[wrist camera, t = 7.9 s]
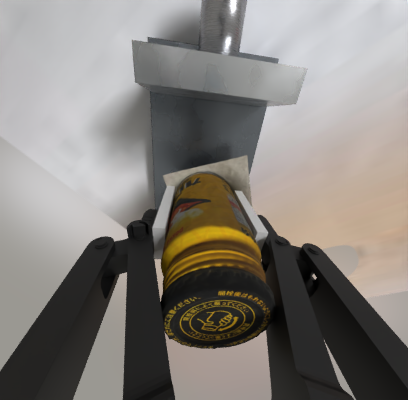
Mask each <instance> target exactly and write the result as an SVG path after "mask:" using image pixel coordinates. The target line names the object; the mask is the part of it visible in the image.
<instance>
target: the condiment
mask: <svg viewBox="0 0 408 400" xmlns="http://www.w3.org/2000/svg"><path fill="white" fill-rule="evenodd" d="M163 178H164V181H165V183H166V186H175V198H174V203H173V207H172V212H171V217H170V222H169V227H168V231H167V236H166V240H165V243H164V248H163V254H162V259H161V269H162V273H163V276H164V280H163V295H162V298H161V302H160V304H161V311H162V318H163V325H164V331H165V333H166V334H167V335H168V337H169V339H173V340H175V341H177V342H178V343H180V344H182V345H186V346H190V347H197V348H213V349H215V348H222V347H231V346H236V345H239V344H242V343H245V342H247V341H249V340H251V339H253V338H255V337H257V336H258V335H259V334H260V333H262V332H263V331H265V330H266V329H267V328H268V326H269V325H270V324H271V322H272V321H273V319H274V315H275V306H276V305H275V300H274V295H273V292H272V291H271V289H270V287H269V286H268V284H266V277H265V273H264V270H263V268H262V266H261V252H260V249H259V246H258V244H257V242H256V240H255V237H254V236H253V233H252V231H251V229H250V227H249V225H248V223H247V222H246V220H245V217H244V216H243V214H242V211H241V210H240V207H239V205H238V203H237V201H236V199H235V197H234V191H242V192H243V194H244V195H245V197H246V199H247V200H248V202H249V203H250V205H251V206H252V202H251V192H250V184H249V171H248V158H247V155H246V156H242V157H238V158H233V159H230V160H226V161H221V162H217V163H212V164H208V165H203V166H199V167H195V168H191V169H187V170H182V171H178V172H174V173H170V174H166V175H163Z"/></svg>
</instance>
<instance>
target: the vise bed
mask: <svg viewBox="0 0 408 400" xmlns="http://www.w3.org/2000/svg"><path fill="white" fill-rule="evenodd" d="M148 43H154V44H160V45H167V46H173V47H179V48H185V49H191V50H197V51H198V49H199V45H193V44H187V43H181V42H175V41H169V40H163V39H157V38H151V37H148ZM238 57H240V58H246V59H252V60H258V61H264V62H271V63H277V64H278V60H279V59H276V58H270V57H264V56H258V55H252V54H246V53H240V52H239V55H238ZM150 100H151V122H152V144H153V166H154V189H155V210H159V207H160V205H161V202H162V199H163V196H164V193H165V190H166V188H167V186H166V183H165V181H164V178H163V175H166V174H170V173H174V172H178V171H182V170H187V169H191V168H195V167H199V166H203V165H208V164H212V163H217V162H221V161H226V160H230V159H233V158H238V157H242V156H246V155H247V158H248V171H249V174H250V171H251V167H252V163H253V159H254V155H255V151H256V147H257V143H258V139H259V135H260V131H261V127H262V123H263V119H264V115H265V111H266V107H259V106H252V105H244V104H236V103H229V102H221V101H214V100H206V99H198V98H191V97H183V96H176V95H168V94H160V93H154V92H152V91H151V90H150Z"/></svg>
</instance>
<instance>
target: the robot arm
mask: <svg viewBox="0 0 408 400" xmlns="http://www.w3.org/2000/svg"><path fill="white" fill-rule="evenodd" d="M234 197H235V199H236V201H237V203H238V205H239V207H240V210H241V211H242V214H243V216H244V217H245V220H246V222H247V223H248V225H249V227H250V229H251V231H252V233H253V236H254V237H255V240H256V242H257V244H258V246H259V249H260V252H261V259H262V261H261V266H262V268H263V270H264V273H265V277H266V284H268V286H269V287H270V289H271V291H272V292H273V295H274V300H275V305H276V306H275V315H274V319H273V321H272V322H271V324H270V325H269V326H268V328H267V329H266V334H267V345H268V355H269V367H270V378H271V389H272V399H271V400H354V399H353V398H352V396H351V395H349V394H348V393H347V392H345V391H344V390H343V389H342V387H341V386H340V384H339V382H338V380H337V377H336V374H335V371H334V368H333V365H332V362H331V359H330V356H329V354H328V351H327V348H326V345H325V342H326V344H327V346H328V348H329V349H330V352H331V353H332V355H333V357H334V359H335V361H336V363H337V365H338V366H339V368H340V370H341V372H342V374H343V376H344V378H345V379H346V382H347V383H348V385H349V387H350V389H351V391H352V393H353V395H354V397H355V398H356V400H408V348H407V346H406V345H405V344H404V343H403V342H402V341H401V340H400V339H399V337H398V336H397V335H396V334H395V333H394V332H393V330H392V329H391V328H390V327H389V326H388V325H387V324H386V322H385V321H384V320H383V319H382V318H381V317H380V316H379V315H378V314H377V312H376V311H375V310H374V309H373V308H372V306H371V305H370V304H369V303H368V302H367V301H366V300H365V298H364V297H363V296H362V295H361V294H360V293H359V292H358V290H357V289H356V288H355V287H354V286H353V285H352V284H351V282H350V281H349V280H348V279H347V278H346V277H345V276H344V275H343V273H342V272H341V271H340V270H339V269H338V268H337V266H336V265H335V264H334V263H333V262H332V261H331V260H330V259H329V257H328V256H327V255H326V254H325V253H324V252H323V251H322V250H321V249H320V248H319V247H317V246H315V245H313V244H309V243H305V244H303V246H302V248H300V247H296V246H292V245H291V244H290V243H289V241H288V240H286V239H285V238H283V237H280V236H278V235H277V233H276V232H275V231H274V229H273V228H272V226H271V225H270V223H269V222H268V221H267V219H266V218H265V217H263V216H262V215H257V214H256V213H255V211H254V210H253V208H252V206H251V205H250V203H249V202H248V200H247V199H246V197H245V195H244V194H243V192H242V191H234ZM174 198H175V186H167V188H166V190H165V193H164V196H163V199H162V202H161V205H160V207H159V210H152V209H149V210H148V211H146V212H145V213H144V215H143V217H142V220H137V221H134V222H131V223H130V224H129V225H128V226H127V233H128V239H125V240H121V241H115V242H114V240H113V238H111V237H100V238H97V239H95V240H93V241H91V242H90V243H89V245H88V246H87V248H86V249H85V250H84V252H83V253H82V255H81V256H80V257H79V259H78V260H77V262H76V263H75V265H74V266H73V267H72V269H71V271H70V272H69V273H68V275H67V276H66V278H65V279H64V280H63V282H62V283H61V285H60V286H59V288H58V289H57V291H56V292H55V293H54V295H53V296H52V298H51V299H50V301H49V302H48V303H47V305H46V306H45V308H44V309H43V311H42V312H41V313H40V315H39V316H38V318H37V319H36V321H35V322H34V323H33V325H32V326H31V328H30V329H29V331H28V332H27V334H26V335H25V336H24V338H23V339H22V341H21V342H20V344H19V345H18V347H17V348H16V349H15V351H14V352H13V354H12V355H11V356H10V358H9V359H8V361H7V362H6V364H5V365H4V367H3V368H2V370H1V371H0V400H73V397H74V395H75V392H76V389H77V386H78V384H79V381H80V379H81V376H82V373H83V371H84V368H85V365H86V363H87V360H88V357H89V355H90V352H91V349H92V346H93V344H94V341H95V339H96V336H97V333H98V331H99V328H100V325H101V323H102V320H103V317H104V314H105V312H106V309H107V307H108V304H109V301H110V298H111V296H112V293H113V290H114V288H115V285H116V283H117V280H118V277H119V274H122V273H125V272H127V297H126V327H125V356H124V385H123V387H124V388H123V400H175V395H174V390H173V385H172V381H171V374H170V369H169V360H168V353H167V346H166V339H165V332H164V325H163V318H162V311H161V304H160V296H159V289H158V282H157V275H156V268H155V261H154V259H162V254H163V248H164V243H165V240H166V236H167V231H168V227H169V222H170V217H171V212H172V207H173V203H174ZM313 274H315V275H316V277H317V278H316V280H315V279H314V278H313V277H312V275H313ZM323 338H324V339H323ZM324 340H325V342H324Z"/></svg>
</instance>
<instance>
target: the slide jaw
mask: <svg viewBox="0 0 408 400" xmlns="http://www.w3.org/2000/svg"><path fill="white" fill-rule="evenodd" d="M246 4H247V0H202V4H201V19H200V34H199V49H198V51H197V50H191V49H185V48H179V47H173V46H167V45H160V44H154V43H148V42H142V41H136V40H132V49H133V62H134V74H135V82H136V83H138V84H139V85H141V86H143V87H145V88H147V89H149V90H151V91H152V92H154V93H160V94H168V95H176V96H183V97H191V98H198V99H206V100H214V101H221V102H229V103H236V104H244V105H252V106H259V107H269V106H280V105H292V104H296V102H297V99H298V96H299V93H300V90H301V87H302V84H303V81H304V78H305V75H306V72H307V68H301V67H295V66H289V65H283V64H277V63H271V62H264V61H258V60H252V59H246V58H240V57H238V55H239V48H240V42H241V36H242V29H243V23H244V17H245V11H246Z"/></svg>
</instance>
